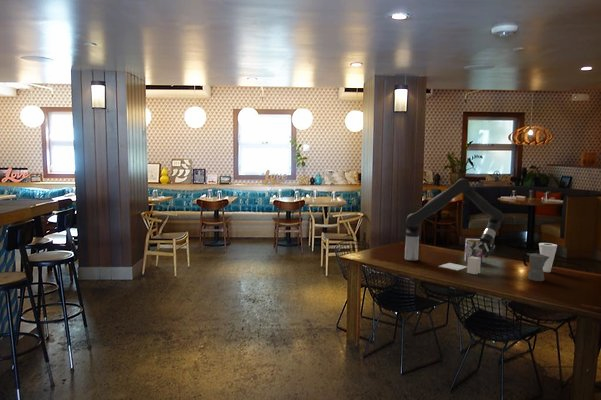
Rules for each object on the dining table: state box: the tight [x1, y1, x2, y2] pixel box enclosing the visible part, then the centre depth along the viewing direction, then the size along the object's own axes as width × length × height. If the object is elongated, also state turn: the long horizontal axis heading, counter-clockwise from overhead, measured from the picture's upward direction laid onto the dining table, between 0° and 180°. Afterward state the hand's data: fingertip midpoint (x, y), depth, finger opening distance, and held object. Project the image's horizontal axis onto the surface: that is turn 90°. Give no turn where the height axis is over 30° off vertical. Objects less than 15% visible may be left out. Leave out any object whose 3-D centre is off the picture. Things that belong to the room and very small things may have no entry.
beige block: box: [466, 256, 481, 275], centre depth 290 cm, size 6×6×10 cm
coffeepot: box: [521, 250, 549, 282], centre depth 277 cm, size 15×9×18 cm, turn 54°
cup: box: [538, 242, 558, 273], centre depth 295 cm, size 11×11×18 cm
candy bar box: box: [464, 238, 483, 263], centre depth 320 cm, size 11×5×16 cm, turn 84°
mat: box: [438, 262, 467, 272], centre depth 306 cm, size 14×14×1 cm
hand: (478, 256), depth 293 cm, fingers open, 8 cm apart
